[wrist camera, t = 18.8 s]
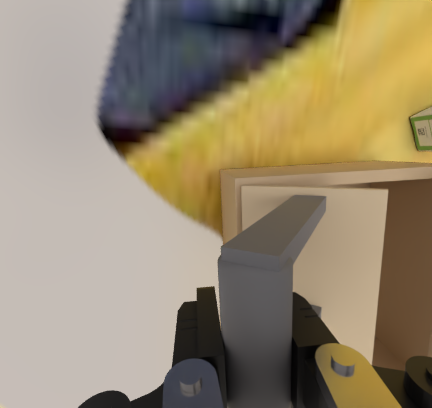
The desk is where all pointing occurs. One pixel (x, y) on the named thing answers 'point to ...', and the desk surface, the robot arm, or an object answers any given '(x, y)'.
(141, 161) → the desk surface
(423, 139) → the ink box
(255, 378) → the flap
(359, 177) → the carton
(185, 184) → the desk surface
